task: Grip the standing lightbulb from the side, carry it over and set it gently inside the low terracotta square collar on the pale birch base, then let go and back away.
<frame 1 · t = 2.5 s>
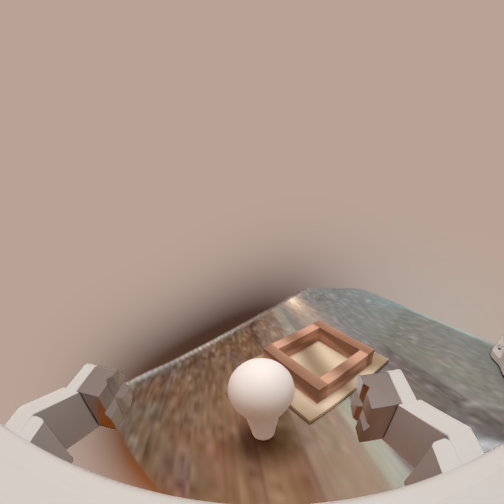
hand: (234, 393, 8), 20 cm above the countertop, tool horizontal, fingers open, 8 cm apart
socket block: (317, 366, 37), on the countertop
lightbulb: (263, 436, 26), on the countertop
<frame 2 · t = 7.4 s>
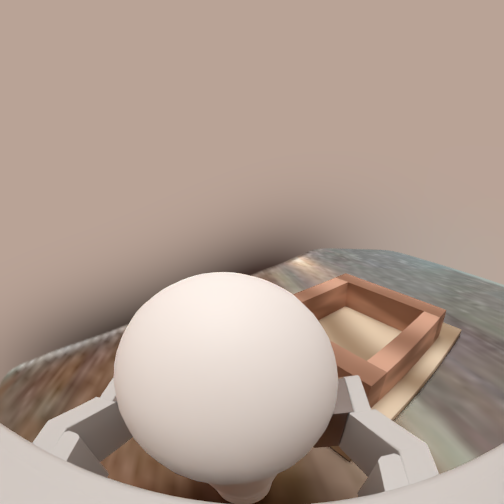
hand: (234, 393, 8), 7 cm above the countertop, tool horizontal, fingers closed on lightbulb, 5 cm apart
socket block: (350, 346, 20), on the countertop
lightbulb: (244, 490, 10), on the countertop, touching gripper
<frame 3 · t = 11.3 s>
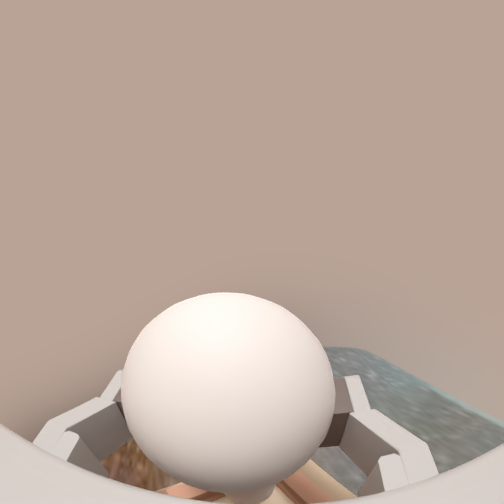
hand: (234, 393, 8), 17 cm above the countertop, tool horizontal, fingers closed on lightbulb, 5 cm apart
lightbulb: (250, 490, 10), point 10 cm above the countertop, touching gripper
when the fingers open (8 cm above the countertop, at t = 16.2 s): lightbulb stays where it is, resting on socket block.
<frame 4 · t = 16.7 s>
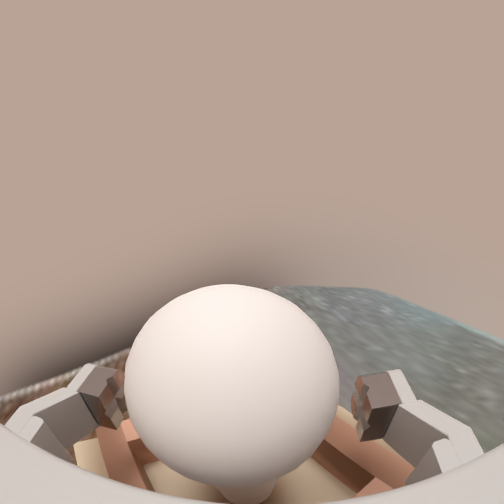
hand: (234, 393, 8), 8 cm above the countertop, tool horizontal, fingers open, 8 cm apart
socket block: (245, 496, 10), on the countertop
lightbulb: (247, 492, 10), resting on socket block
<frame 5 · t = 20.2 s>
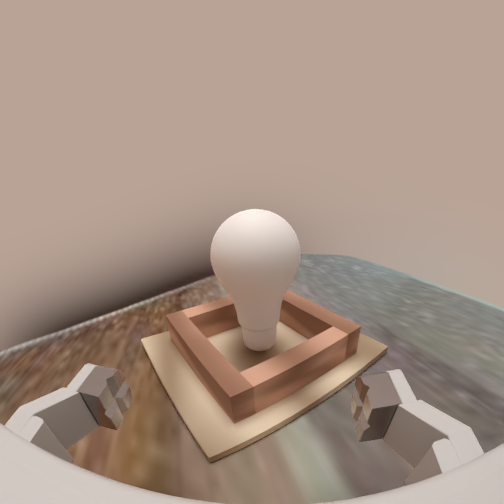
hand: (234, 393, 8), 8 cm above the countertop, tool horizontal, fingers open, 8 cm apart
socket block: (258, 355, 22), on the countertop
lightbulb: (260, 350, 22), resting on socket block
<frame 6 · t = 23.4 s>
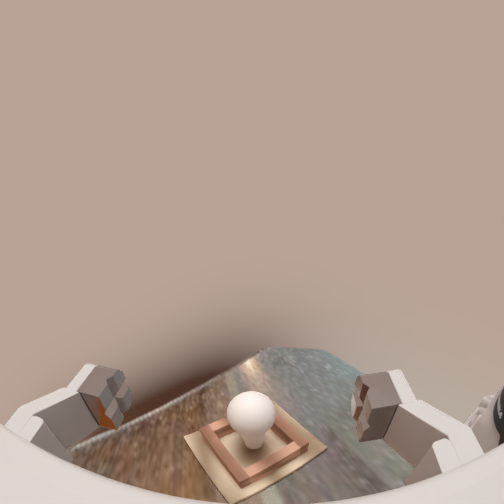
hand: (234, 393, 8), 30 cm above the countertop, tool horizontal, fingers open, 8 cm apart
socket block: (253, 448, 33), on the countertop
lightbulb: (254, 446, 33), resting on socket block
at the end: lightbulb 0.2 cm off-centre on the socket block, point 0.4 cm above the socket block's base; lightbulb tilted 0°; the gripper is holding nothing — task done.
